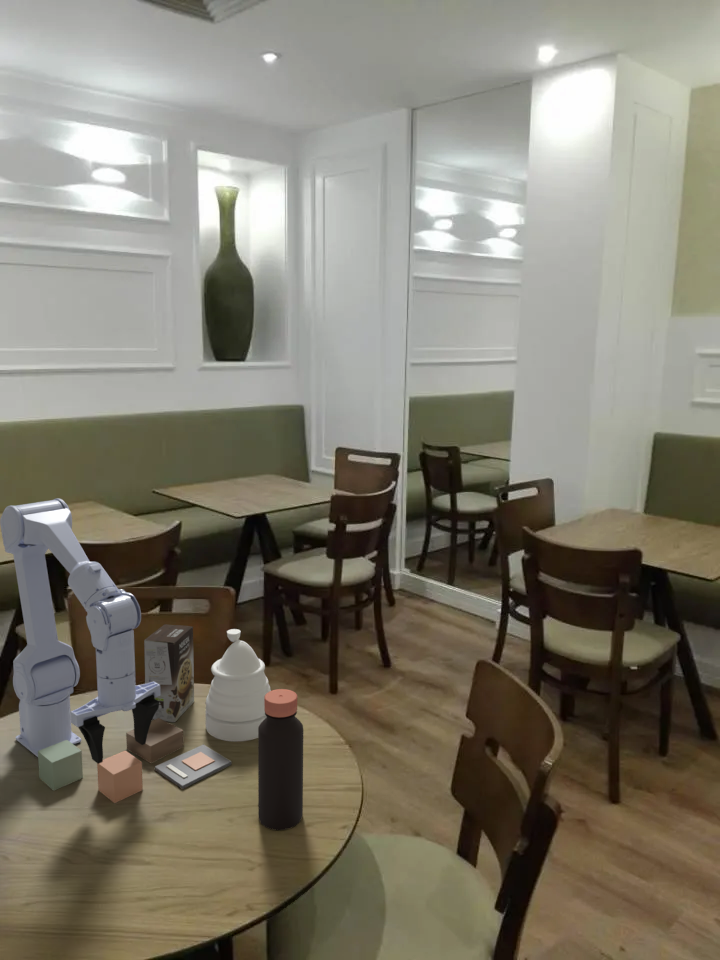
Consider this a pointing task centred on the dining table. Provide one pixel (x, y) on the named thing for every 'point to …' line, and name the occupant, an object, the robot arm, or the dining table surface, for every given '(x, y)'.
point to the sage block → (60, 764)
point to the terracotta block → (120, 776)
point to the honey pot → (236, 693)
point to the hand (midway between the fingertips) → (119, 751)
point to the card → (192, 766)
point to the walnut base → (157, 741)
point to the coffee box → (171, 669)
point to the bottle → (280, 762)
